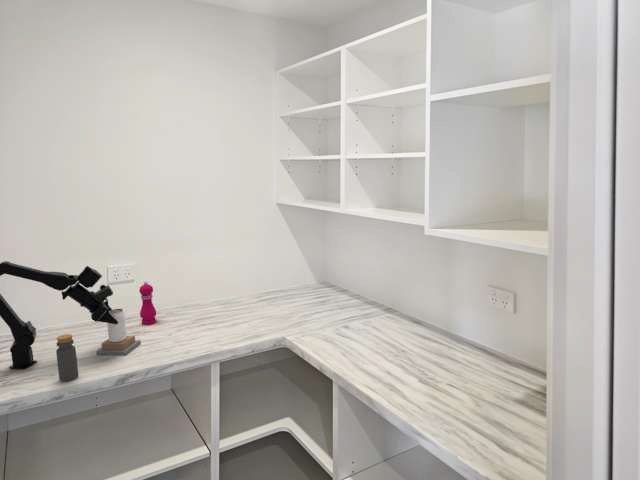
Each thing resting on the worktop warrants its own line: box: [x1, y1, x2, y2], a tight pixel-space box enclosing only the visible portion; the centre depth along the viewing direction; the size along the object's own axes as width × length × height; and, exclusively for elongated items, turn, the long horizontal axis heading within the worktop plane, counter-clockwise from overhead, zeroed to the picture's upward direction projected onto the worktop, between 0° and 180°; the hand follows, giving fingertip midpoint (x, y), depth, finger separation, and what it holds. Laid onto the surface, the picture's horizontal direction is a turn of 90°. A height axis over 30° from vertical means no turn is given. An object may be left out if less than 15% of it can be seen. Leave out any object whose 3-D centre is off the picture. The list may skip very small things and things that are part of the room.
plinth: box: [95, 335, 141, 356], centre depth 185 cm, size 12×12×4 cm
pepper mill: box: [138, 280, 157, 326], centre depth 216 cm, size 7×7×20 cm
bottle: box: [55, 333, 79, 382], centre depth 159 cm, size 6×6×15 cm
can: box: [106, 308, 127, 343], centre depth 184 cm, size 6×6×12 cm
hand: (117, 319), depth 184 cm, fingers open, 9 cm apart
